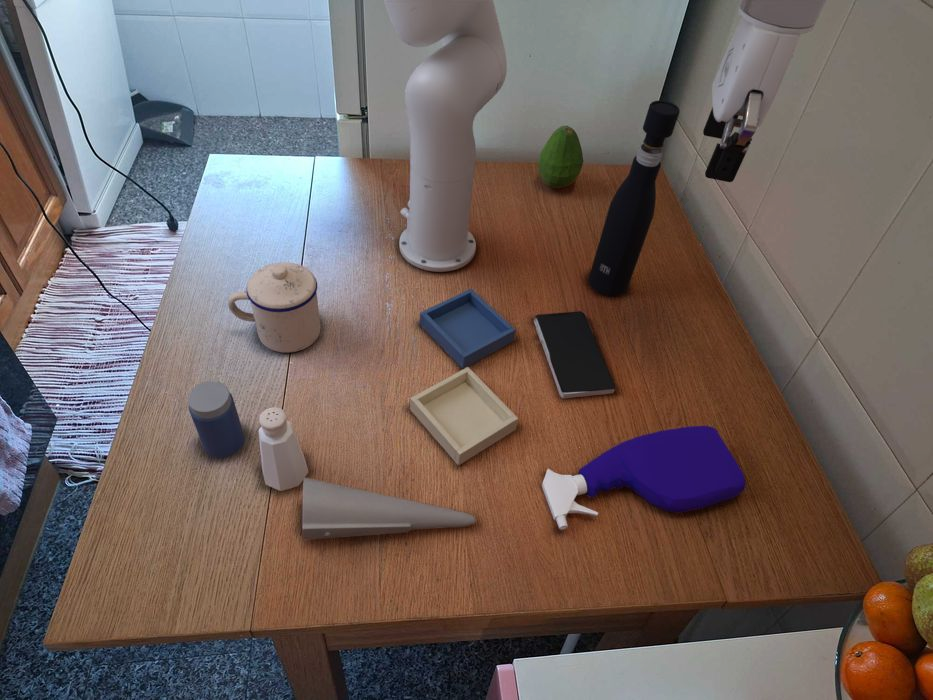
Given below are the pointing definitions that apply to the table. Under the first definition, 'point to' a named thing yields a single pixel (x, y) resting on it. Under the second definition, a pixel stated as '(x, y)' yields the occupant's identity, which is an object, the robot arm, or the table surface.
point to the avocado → (561, 158)
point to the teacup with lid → (282, 306)
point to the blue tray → (467, 327)
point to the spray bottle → (654, 473)
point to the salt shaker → (280, 451)
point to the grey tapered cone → (368, 513)
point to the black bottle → (632, 207)
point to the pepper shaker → (216, 419)
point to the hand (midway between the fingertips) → (716, 156)
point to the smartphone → (573, 355)
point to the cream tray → (463, 415)
